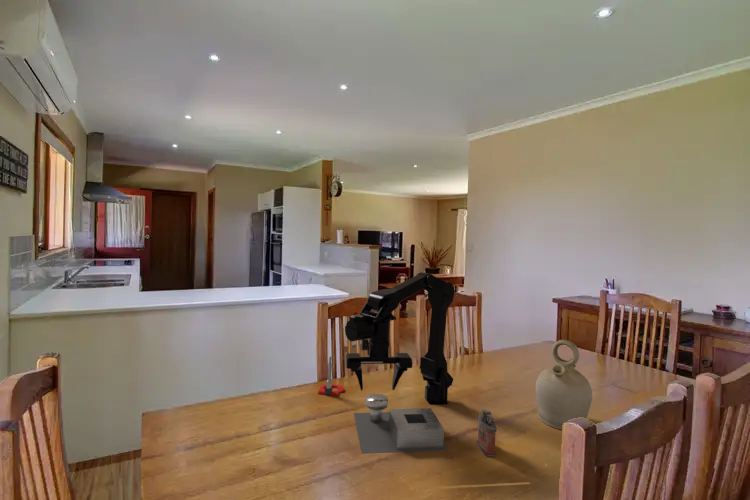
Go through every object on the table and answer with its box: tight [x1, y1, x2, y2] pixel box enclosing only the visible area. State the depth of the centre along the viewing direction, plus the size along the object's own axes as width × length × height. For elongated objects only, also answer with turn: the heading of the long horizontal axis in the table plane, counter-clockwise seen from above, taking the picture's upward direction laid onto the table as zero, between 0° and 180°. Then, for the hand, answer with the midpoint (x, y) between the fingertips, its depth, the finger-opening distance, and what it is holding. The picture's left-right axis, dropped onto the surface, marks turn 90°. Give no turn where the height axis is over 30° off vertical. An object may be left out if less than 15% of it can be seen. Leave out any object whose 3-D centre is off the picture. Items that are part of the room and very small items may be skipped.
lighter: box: [476, 408, 498, 458], centre depth 104 cm, size 8×3×10 cm, turn 5°
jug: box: [535, 339, 593, 431], centre depth 122 cm, size 15×16×25 cm
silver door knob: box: [365, 393, 389, 423], centre depth 117 cm, size 6×6×6 cm
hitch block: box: [388, 407, 445, 450], centre depth 109 cm, size 12×12×5 cm
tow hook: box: [318, 356, 345, 397], centre depth 138 cm, size 8×13×9 cm
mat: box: [353, 411, 449, 454], centre depth 112 cm, size 22×22×1 cm
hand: (377, 389), depth 117 cm, fingers open, 9 cm apart
